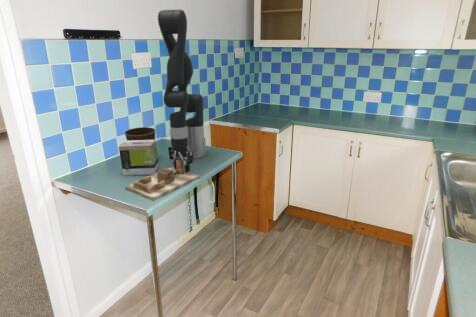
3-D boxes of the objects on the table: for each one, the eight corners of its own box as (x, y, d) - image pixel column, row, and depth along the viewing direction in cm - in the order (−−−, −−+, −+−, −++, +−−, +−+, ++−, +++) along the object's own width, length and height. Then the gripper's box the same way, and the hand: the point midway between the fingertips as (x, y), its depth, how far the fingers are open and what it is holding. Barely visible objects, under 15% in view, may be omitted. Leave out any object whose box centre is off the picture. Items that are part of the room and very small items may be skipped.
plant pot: (149, 166, 159) (146, 136, 153) (123, 164, 162) (118, 134, 156) (163, 156, 172) (160, 128, 167) (138, 154, 176) (134, 126, 170)
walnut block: (178, 171, 150) (177, 157, 148) (187, 173, 148) (185, 159, 146) (158, 182, 139) (156, 167, 136) (167, 184, 137) (165, 169, 134)
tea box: (159, 167, 158) (156, 138, 153) (155, 175, 149) (151, 145, 144) (128, 167, 158) (124, 139, 153) (122, 176, 149) (118, 146, 143)
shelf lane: (172, 168, 156) (172, 161, 155) (199, 177, 146) (199, 170, 145) (125, 188, 136) (124, 181, 135) (153, 200, 126) (152, 192, 125)
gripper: (196, 136, 141) (198, 171, 147) (174, 131, 149) (177, 164, 155) (184, 140, 136) (187, 176, 142) (161, 135, 144) (165, 169, 150)
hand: (181, 170), depth 149 cm, fingers open, 6 cm apart
